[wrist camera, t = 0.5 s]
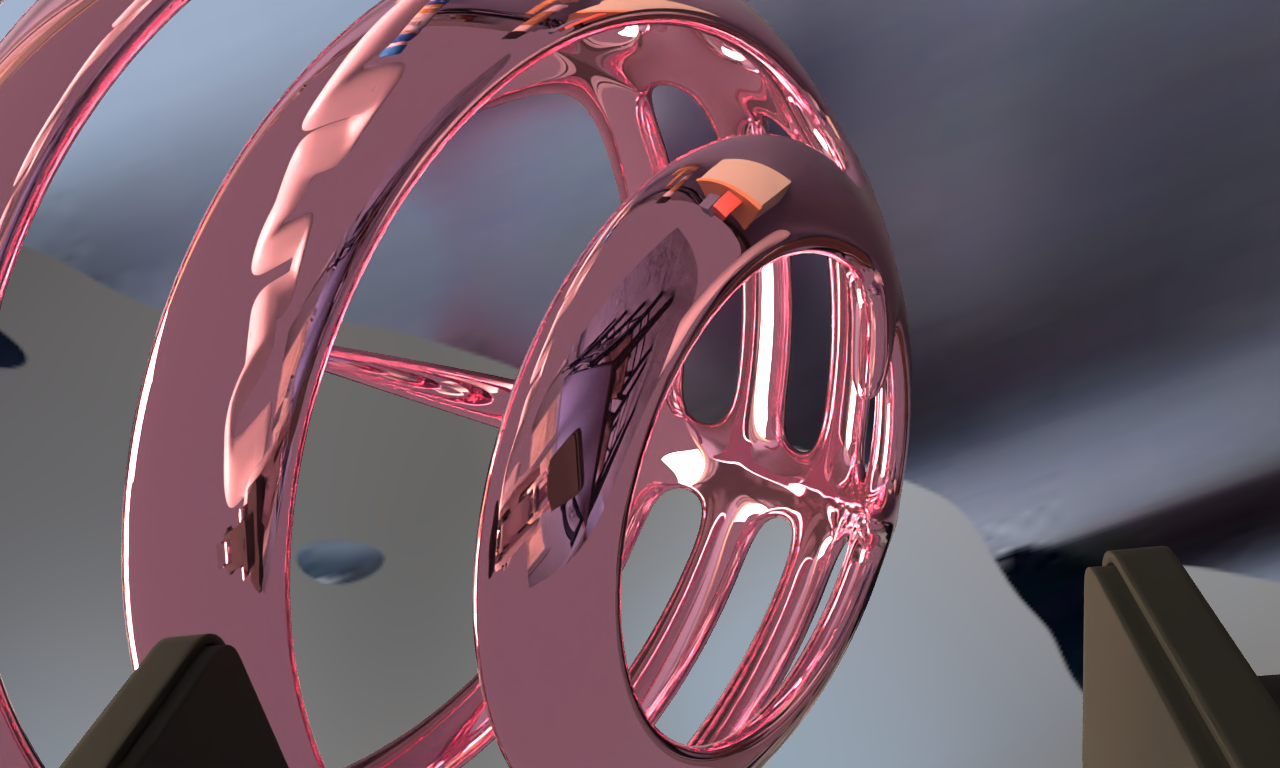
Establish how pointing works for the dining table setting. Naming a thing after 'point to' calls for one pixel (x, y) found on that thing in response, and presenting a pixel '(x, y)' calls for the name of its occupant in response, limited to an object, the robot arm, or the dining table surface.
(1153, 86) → the dining table surface
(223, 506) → the pink openwork sphere
